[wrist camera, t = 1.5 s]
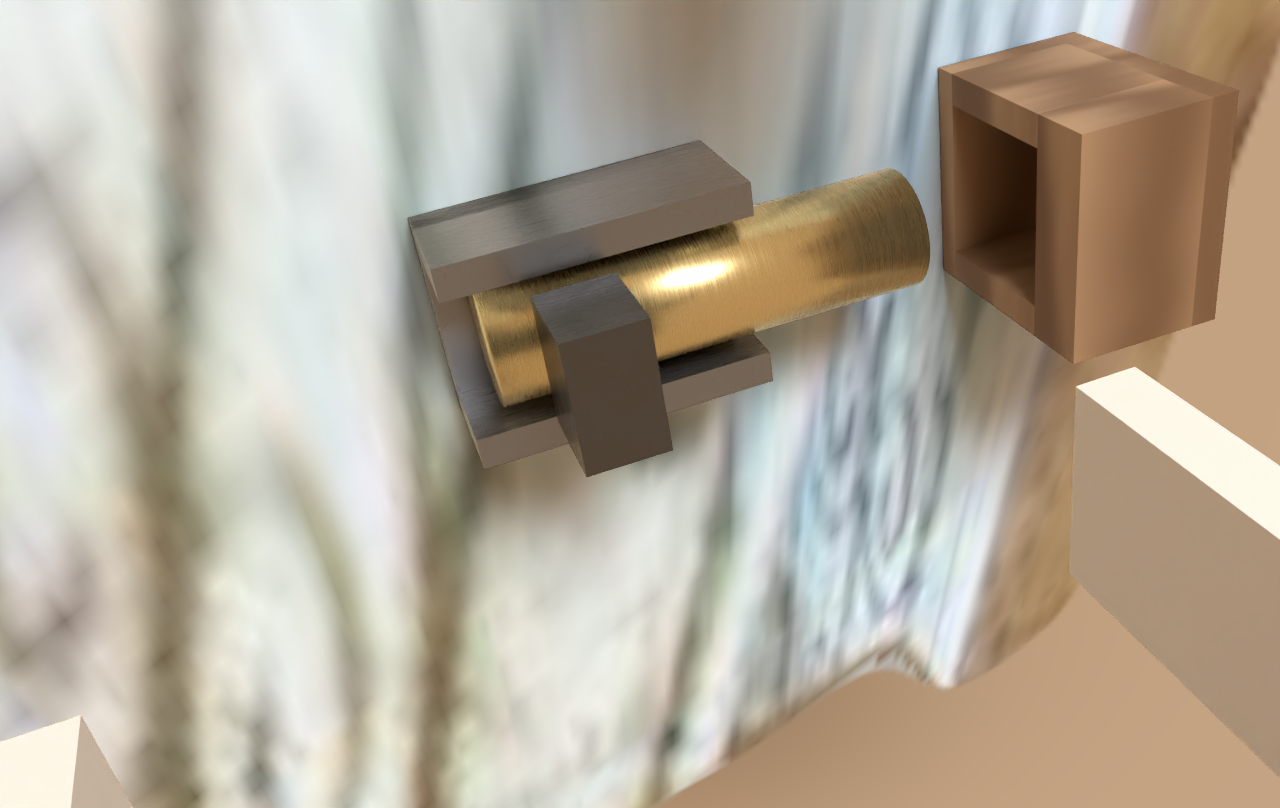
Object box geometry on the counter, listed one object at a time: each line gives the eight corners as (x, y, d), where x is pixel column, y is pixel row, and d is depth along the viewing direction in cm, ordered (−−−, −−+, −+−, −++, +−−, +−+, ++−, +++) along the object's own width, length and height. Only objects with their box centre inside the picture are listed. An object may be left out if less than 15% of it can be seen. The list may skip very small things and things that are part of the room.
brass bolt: (488, 377, 37) (539, 492, 32) (457, 259, 35) (506, 359, 30) (875, 264, 39) (985, 352, 34) (869, 147, 37) (984, 220, 32)
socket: (943, 269, 42) (1073, 364, 36) (938, 67, 38) (1081, 134, 32) (1066, 232, 43) (1214, 318, 36) (1073, 32, 39) (1238, 89, 33)
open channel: (459, 404, 38) (484, 469, 35) (407, 217, 35) (429, 269, 32) (725, 326, 40) (773, 380, 37) (699, 140, 37) (750, 182, 33)
